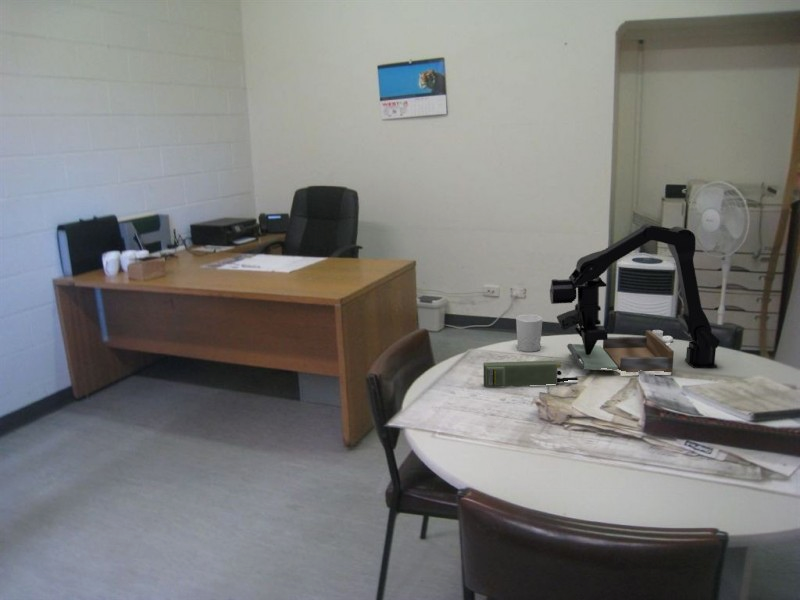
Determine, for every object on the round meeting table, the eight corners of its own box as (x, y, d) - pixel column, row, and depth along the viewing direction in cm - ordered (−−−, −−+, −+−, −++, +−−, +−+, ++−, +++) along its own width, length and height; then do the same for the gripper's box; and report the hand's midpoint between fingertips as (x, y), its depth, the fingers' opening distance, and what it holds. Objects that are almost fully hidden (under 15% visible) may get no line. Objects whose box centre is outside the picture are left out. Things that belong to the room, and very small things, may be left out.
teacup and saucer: (671, 340, 198) (672, 328, 197) (674, 348, 191) (675, 335, 190) (642, 338, 201) (643, 326, 200) (643, 346, 194) (644, 334, 193)
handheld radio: (483, 383, 169) (575, 381, 168) (484, 389, 166) (579, 386, 165) (483, 361, 167) (577, 358, 166) (484, 365, 164) (580, 363, 163)
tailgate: (600, 345, 187) (567, 342, 187) (617, 366, 170) (580, 363, 170) (599, 350, 187) (566, 347, 188) (617, 371, 170) (580, 369, 170)
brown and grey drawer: (648, 352, 187) (649, 330, 186) (671, 375, 169) (673, 351, 167) (602, 353, 188) (603, 331, 186) (621, 376, 170) (622, 352, 168)
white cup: (543, 352, 191) (544, 321, 188) (518, 353, 191) (518, 321, 188) (538, 344, 198) (539, 314, 196) (514, 344, 199) (514, 314, 196)
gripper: (552, 295, 184) (553, 345, 188) (566, 312, 166) (566, 367, 170) (591, 293, 184) (590, 343, 187) (608, 310, 165) (607, 365, 169)
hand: (587, 354), depth 179 cm, fingers closed, pressing on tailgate
